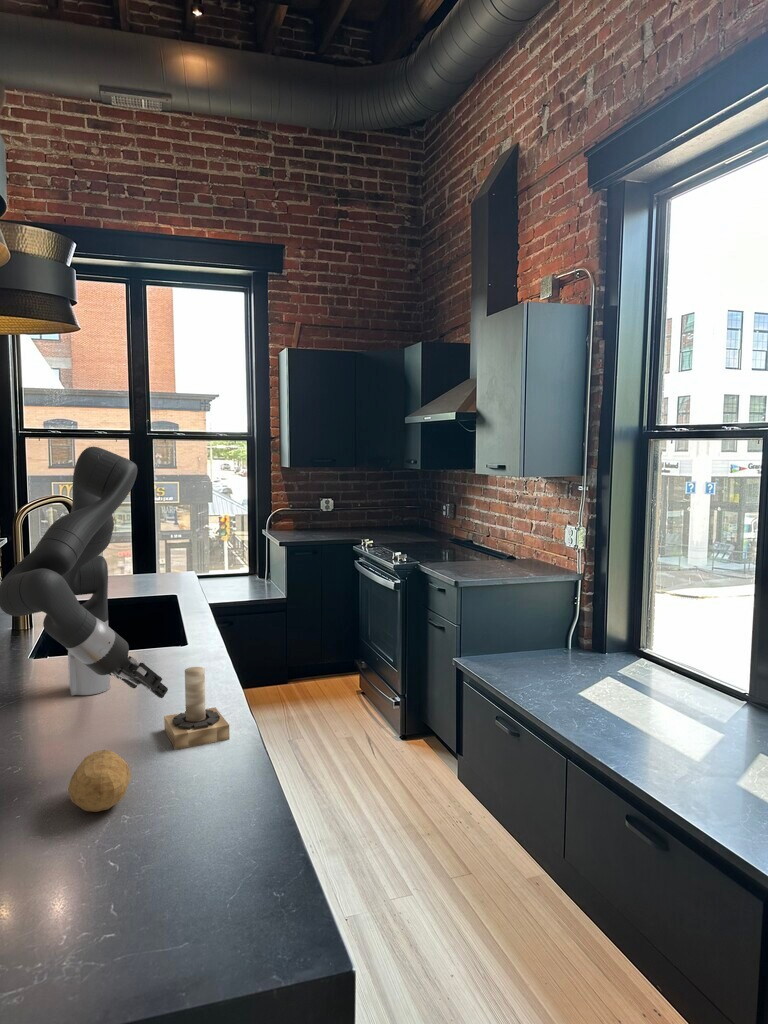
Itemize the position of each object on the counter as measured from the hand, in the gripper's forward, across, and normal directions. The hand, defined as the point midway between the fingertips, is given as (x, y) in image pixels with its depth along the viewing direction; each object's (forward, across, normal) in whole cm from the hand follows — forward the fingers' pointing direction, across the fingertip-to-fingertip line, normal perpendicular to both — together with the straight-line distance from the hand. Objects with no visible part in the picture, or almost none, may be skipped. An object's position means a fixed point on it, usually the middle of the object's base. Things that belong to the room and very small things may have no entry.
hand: (150, 688), depth 137 cm
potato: (-3, -10, +22) cm, 24 cm away
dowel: (+17, -1, +2) cm, 17 cm away
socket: (+17, -1, +1) cm, 17 cm away
